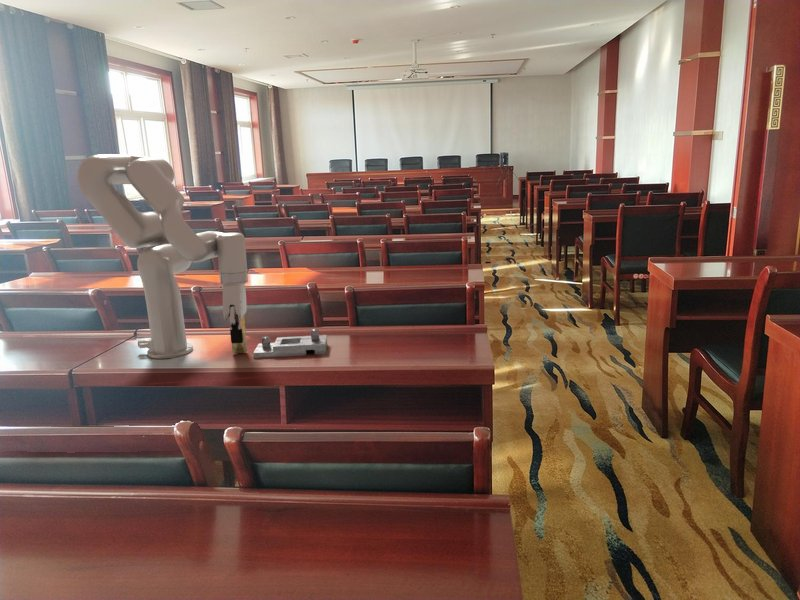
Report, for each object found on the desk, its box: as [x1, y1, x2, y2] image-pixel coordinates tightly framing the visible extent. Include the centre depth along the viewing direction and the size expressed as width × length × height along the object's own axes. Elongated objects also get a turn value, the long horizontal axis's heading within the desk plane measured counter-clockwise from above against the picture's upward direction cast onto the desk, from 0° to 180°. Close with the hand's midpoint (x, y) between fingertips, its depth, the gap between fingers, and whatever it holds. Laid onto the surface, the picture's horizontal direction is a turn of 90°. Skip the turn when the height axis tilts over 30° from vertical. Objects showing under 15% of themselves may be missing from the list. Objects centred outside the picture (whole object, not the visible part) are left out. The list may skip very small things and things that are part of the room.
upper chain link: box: [273, 328, 328, 355], centre depth 173 cm, size 14×9×6 cm, turn 94°
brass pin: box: [231, 315, 248, 354], centre depth 171 cm, size 4×4×10 cm
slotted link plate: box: [253, 335, 308, 359], centre depth 173 cm, size 14×9×4 cm, turn 94°
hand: (238, 339), depth 172 cm, fingers closed on brass pin, 4 cm apart
